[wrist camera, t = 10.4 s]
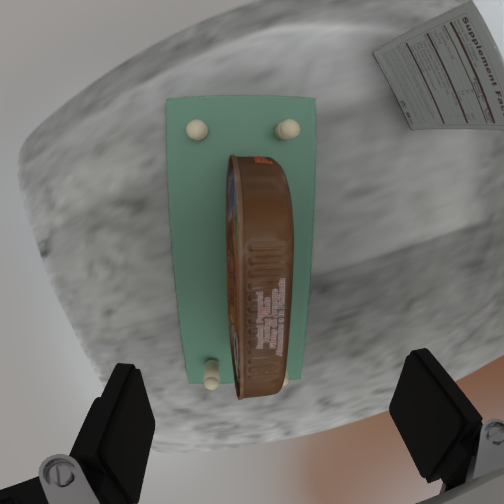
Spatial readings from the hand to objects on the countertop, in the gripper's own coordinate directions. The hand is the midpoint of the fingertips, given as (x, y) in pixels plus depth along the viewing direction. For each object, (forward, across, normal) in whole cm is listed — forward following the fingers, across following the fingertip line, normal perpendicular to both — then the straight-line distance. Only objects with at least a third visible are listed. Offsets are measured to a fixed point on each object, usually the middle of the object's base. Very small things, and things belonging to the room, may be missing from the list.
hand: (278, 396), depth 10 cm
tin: (+14, 0, 0) cm, 14 cm away
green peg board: (+15, +1, 0) cm, 15 cm away
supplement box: (+15, -14, -15) cm, 26 cm away
